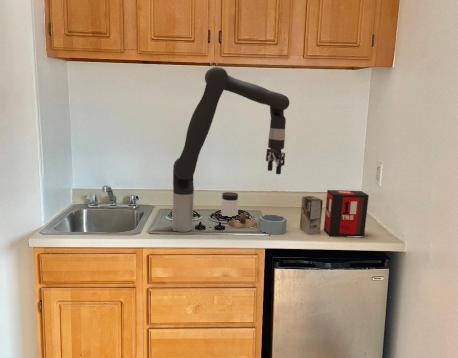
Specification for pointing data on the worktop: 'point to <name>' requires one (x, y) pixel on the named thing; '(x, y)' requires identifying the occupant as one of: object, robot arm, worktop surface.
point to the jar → (229, 204)
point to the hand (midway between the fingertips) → (273, 172)
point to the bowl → (272, 224)
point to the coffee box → (311, 214)
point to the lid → (242, 222)
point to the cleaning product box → (345, 213)
